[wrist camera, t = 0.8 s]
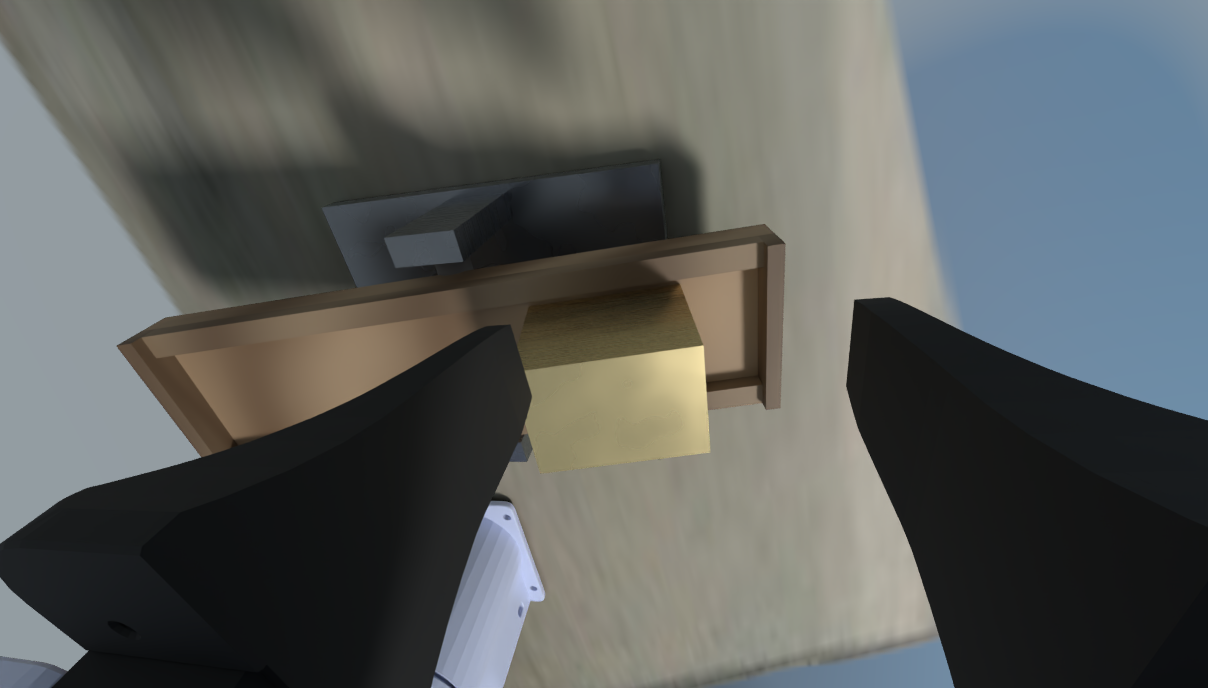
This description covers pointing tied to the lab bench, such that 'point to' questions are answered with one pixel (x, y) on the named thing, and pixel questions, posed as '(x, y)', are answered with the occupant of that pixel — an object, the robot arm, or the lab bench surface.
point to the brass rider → (614, 380)
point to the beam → (451, 331)
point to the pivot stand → (499, 225)
